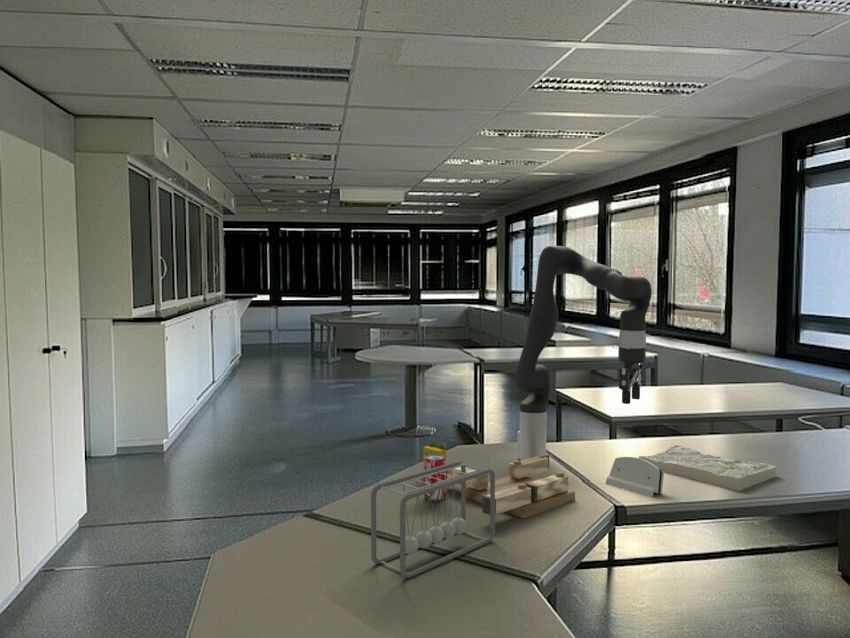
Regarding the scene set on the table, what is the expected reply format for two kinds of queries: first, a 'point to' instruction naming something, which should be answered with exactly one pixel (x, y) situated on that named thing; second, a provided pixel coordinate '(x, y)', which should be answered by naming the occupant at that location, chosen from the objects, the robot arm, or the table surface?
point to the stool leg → (548, 486)
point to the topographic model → (712, 468)
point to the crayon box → (435, 449)
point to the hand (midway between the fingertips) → (630, 401)
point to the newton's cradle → (434, 533)
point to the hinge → (636, 476)
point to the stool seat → (513, 489)
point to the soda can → (434, 476)
